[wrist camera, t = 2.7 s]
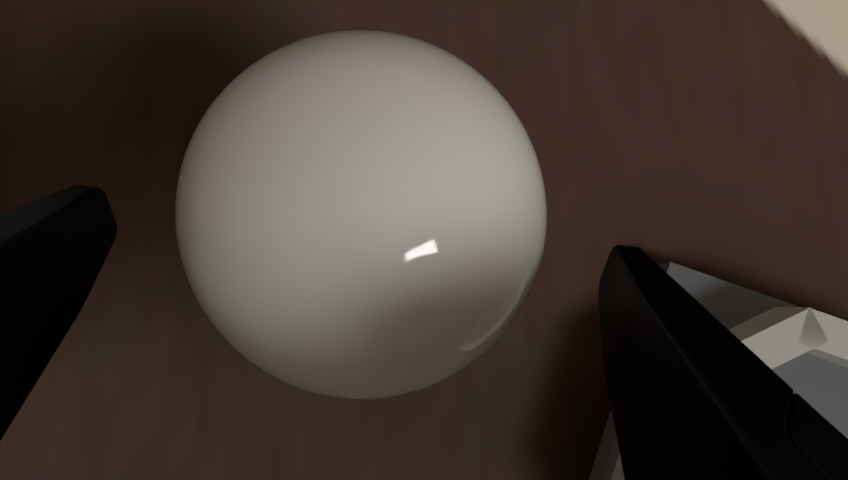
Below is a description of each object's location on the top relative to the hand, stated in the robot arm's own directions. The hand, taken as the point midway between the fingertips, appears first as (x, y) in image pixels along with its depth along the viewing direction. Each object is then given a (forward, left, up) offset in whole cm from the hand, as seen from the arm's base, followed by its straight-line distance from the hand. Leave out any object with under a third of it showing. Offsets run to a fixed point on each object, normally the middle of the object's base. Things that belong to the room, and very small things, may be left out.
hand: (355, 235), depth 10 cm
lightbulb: (0, 0, -8) cm, 8 cm away
